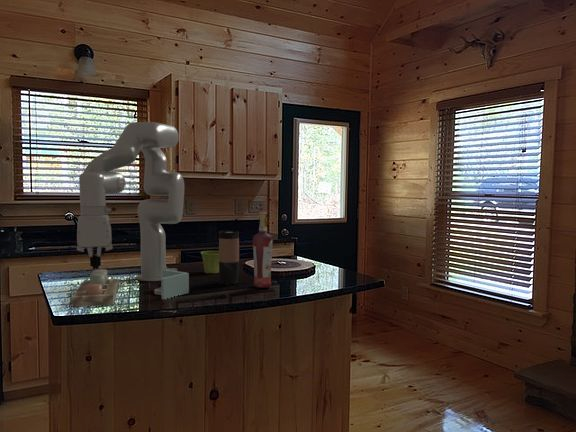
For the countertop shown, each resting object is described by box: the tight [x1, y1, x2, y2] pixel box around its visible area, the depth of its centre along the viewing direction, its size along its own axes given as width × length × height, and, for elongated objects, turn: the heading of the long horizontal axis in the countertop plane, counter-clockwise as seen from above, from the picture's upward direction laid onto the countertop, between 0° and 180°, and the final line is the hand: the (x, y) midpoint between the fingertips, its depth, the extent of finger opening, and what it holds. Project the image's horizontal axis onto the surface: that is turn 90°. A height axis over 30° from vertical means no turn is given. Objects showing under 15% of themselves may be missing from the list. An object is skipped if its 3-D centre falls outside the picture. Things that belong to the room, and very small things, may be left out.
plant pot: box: [200, 250, 219, 274], centre depth 208 cm, size 9×9×9 cm
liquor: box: [252, 211, 274, 289], centre depth 180 cm, size 7×7×28 cm
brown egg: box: [86, 284, 103, 295], centre depth 157 cm, size 5×5×5 cm
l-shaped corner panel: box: [153, 270, 190, 301], centre depth 169 cm, size 12×12×8 cm
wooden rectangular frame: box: [71, 278, 120, 308], centre depth 165 cm, size 12×26×3 cm, turn 15°
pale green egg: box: [89, 273, 105, 289], centre depth 165 cm, size 5×5×5 cm
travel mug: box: [218, 229, 240, 286], centre depth 187 cm, size 8×8×20 cm
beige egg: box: [92, 268, 108, 284], centre depth 172 cm, size 5×5×5 cm
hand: (95, 268), depth 157 cm, fingers closed
